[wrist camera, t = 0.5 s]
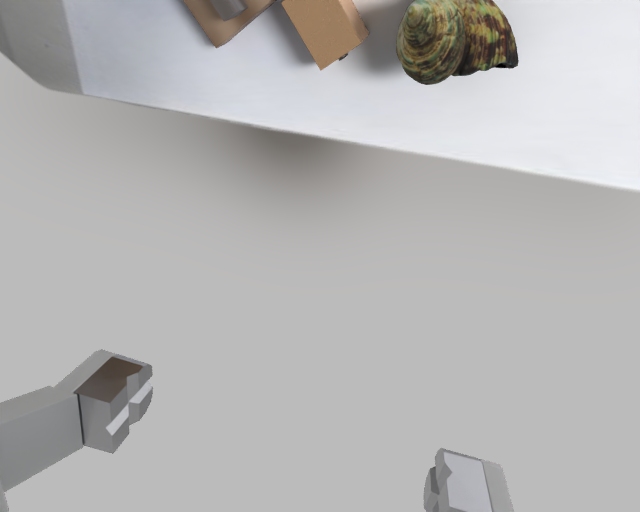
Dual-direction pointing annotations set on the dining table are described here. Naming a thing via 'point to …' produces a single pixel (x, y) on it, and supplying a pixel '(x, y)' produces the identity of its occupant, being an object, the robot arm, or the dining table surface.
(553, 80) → the dining table surface
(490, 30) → the seashell
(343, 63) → the dining table surface
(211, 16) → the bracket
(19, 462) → the robot arm
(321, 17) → the slotted cardboard block
